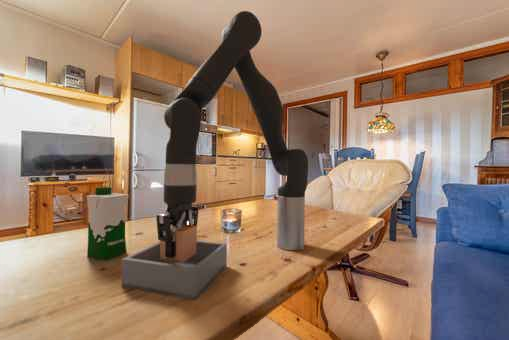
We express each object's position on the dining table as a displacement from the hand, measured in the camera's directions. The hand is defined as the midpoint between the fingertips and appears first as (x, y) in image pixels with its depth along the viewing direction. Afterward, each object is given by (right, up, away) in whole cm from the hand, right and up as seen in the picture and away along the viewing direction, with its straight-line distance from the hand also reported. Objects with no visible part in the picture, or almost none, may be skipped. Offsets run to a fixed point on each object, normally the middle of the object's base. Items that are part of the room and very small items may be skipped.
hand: (179, 251), depth 52 cm
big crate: (0, -6, 0) cm, 6 cm away
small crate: (0, -1, 0) cm, 1 cm away
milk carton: (-26, -6, +12) cm, 29 cm away
